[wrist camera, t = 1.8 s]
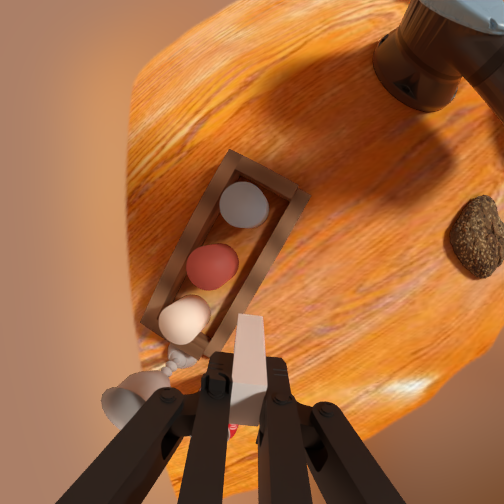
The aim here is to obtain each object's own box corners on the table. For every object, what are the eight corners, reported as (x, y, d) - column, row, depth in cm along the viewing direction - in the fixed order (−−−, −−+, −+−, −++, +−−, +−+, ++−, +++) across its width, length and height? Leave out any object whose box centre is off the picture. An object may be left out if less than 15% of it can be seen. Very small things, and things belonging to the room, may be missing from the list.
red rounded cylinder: (212, 236, 38) (198, 237, 32) (245, 255, 38) (237, 260, 32) (195, 269, 39) (179, 275, 33) (227, 288, 38) (216, 298, 32)
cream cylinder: (185, 287, 39) (168, 297, 33) (217, 306, 39) (204, 319, 33) (170, 317, 40) (152, 330, 34) (200, 335, 39) (186, 352, 33)
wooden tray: (235, 157, 40) (229, 148, 36) (310, 197, 39) (313, 193, 35) (152, 314, 43) (140, 322, 39) (217, 355, 43) (210, 367, 38)
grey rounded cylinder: (242, 182, 37) (233, 173, 31) (276, 201, 37) (274, 195, 31) (223, 216, 38) (211, 213, 32) (257, 235, 37) (250, 236, 31)
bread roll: (439, 230, 37) (455, 230, 32) (481, 185, 36) (498, 181, 31) (473, 292, 37) (489, 298, 32) (512, 246, 35) (529, 248, 30)
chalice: (201, 333, 43) (150, 391, 25) (207, 373, 43) (165, 442, 25) (158, 333, 44) (94, 382, 26) (165, 371, 44) (110, 430, 26)
